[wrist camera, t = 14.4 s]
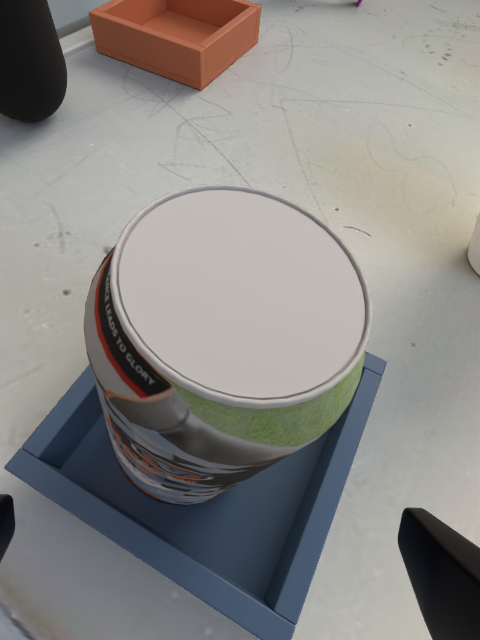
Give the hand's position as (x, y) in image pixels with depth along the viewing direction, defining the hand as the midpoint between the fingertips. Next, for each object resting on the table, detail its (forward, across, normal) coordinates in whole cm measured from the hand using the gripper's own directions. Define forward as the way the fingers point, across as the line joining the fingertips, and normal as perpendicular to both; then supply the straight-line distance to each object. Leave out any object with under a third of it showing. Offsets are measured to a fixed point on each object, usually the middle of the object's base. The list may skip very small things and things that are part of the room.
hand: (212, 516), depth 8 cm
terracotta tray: (+34, +5, -23) cm, 41 cm away
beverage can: (+8, 0, +3) cm, 8 cm away
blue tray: (+8, 0, +3) cm, 9 cm away
